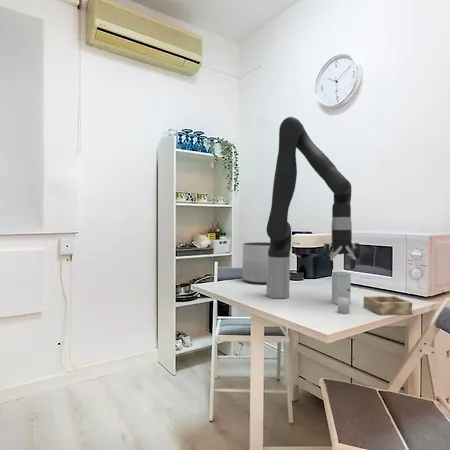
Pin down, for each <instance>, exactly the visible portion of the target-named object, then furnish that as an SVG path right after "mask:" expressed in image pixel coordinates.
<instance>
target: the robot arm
mask: <svg viewBox="0 0 450 450" xmlns="http://www.w3.org/2000/svg"><path fill="white" fill-rule="evenodd" d="M278 130H279V132H278V150H277V151H278V152H277V157H276V164H275V165H276V166H275V171H274V177H273V183H272V184H273V185H272V195H271V207H270V211H269V216H268V221H267V225H266V234H267V236H268V238H269V239H270V240H269V243H270V247H269V250H268V273H267V284H266V296H267V297H268V298H271V299H272V298H273V299H287V298H288V299H289V298H290V293H291V292H290V278H291V277H290V276H291V275H290V274H291V273H290V269H291V267H290V265H291V263H290V261H291V260H290V259H291V258H290V257H291V256H290V255H291V249H292V227H291V226H292V225H291V224H290V223H289V221H288V219H289V218H288V216H289V210H290V209H289V208H290V205H291V201H292V199H293V197H294V193H295V189H296V185H297V175H298V166H297V155H296V154H297V149H298V151H299V152H300V153H301V154H302V155H303V156H304V158H305V160H307V162H308V164H309V165H310V166H311V167H312V169H313V170H314V172H316V173H317V175H318V176H319V177H320V178H321V179H322V180H323V181H324V182H325V184H326V186H327V187H328V188H329V190H330V191H331V192H332V193H333V204H332V208H331V213H332V216H331V227H330V228H331V243H326V242H324V244H323V253H322V255H323V256H322V258H324V259H326V260H327V267H328V269H329V270H330V271H333V270H334V259H335V257H336V256H338V255H347V256H348V257H349V258H350V259H349V269H350V270H354V269H355V268H356V260H357V259H361V246H360V243H359V242H354V243H352V240H353V236H352V233H353V232H352V231H353V230H352V224H353V223H352V209H351V208H352V207H351V201H352V184H351V182H350V181H349V179H347V178H346V177H345V176H344V175H343V174H342V173H341V171H339V170H338V168H337V166H336V165H335V164H334V162H332V160H330V158H329V157H328V156H327V155H326V154H325V153H324V152H323V151H322V150H321V149H320V148H319V147H318V146H317V145H316V144H315V143H314V142H313V140H312V139H311V138H310V136H309V135H308V133H307V131H306V129H305V127H304V125H303V124H302V122H301V120H299V119H298V118H296V117H294V116H288V117H286V118H284V119H283V120H282V122H281V123H280V125H279V129H278ZM352 248H353V250H354V251H352V250H351V249H352ZM330 249H332V250H331V251H330Z"/></svg>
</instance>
